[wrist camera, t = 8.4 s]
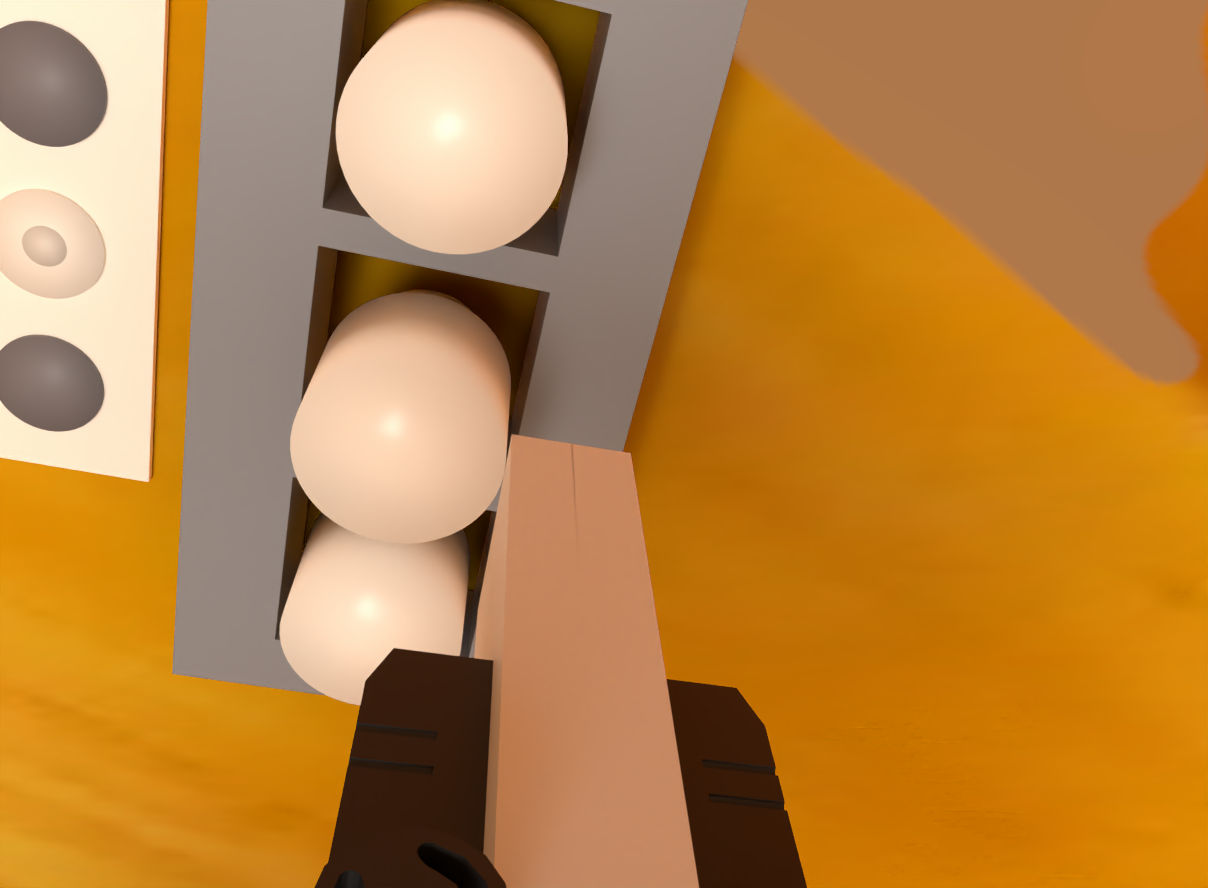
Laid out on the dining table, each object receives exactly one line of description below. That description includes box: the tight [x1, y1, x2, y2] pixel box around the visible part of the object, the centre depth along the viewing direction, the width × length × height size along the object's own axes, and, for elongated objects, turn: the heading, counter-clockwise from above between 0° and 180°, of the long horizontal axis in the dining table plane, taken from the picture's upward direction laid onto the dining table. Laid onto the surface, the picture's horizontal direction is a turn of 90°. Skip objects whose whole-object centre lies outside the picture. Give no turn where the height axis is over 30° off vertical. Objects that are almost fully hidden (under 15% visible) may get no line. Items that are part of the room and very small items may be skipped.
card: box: [0, 0, 169, 482], centre depth 31 cm, size 6×15×1 cm, turn 167°
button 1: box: [336, 0, 568, 254], centre depth 26 cm, size 5×5×6 cm
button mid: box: [290, 290, 511, 544], centre depth 28 cm, size 5×5×6 cm
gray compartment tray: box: [172, 0, 748, 695], centre depth 31 cm, size 12×24×4 cm, turn 167°
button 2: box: [280, 513, 471, 705], centre depth 33 cm, size 5×5×6 cm
